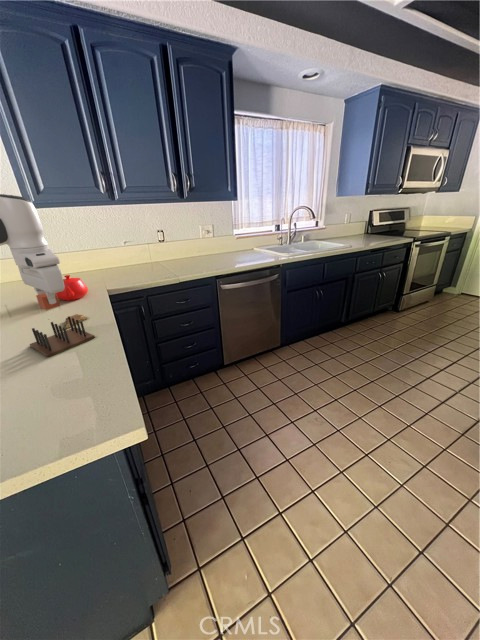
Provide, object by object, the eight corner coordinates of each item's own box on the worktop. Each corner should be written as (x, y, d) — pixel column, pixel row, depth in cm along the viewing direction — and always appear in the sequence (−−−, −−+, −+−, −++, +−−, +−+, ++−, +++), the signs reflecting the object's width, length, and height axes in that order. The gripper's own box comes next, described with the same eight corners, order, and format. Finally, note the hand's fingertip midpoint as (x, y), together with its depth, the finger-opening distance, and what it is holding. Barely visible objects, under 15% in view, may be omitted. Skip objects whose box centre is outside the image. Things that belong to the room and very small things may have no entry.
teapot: (59, 293, 151) (52, 272, 146) (89, 289, 157) (84, 269, 152) (53, 307, 131) (45, 283, 126) (88, 302, 137) (82, 279, 132)
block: (46, 310, 80) (41, 297, 78) (40, 307, 82) (35, 295, 80) (60, 306, 83) (56, 293, 81) (54, 303, 85) (50, 291, 83)
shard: (66, 329, 107) (64, 325, 106) (52, 327, 110) (51, 323, 109) (88, 319, 116) (87, 315, 116) (75, 317, 119) (73, 313, 118)
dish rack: (48, 357, 88) (41, 338, 85) (30, 346, 95) (23, 329, 92) (94, 337, 100) (89, 321, 97) (75, 329, 107) (70, 313, 104)
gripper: (6, 255, 79) (23, 299, 85) (35, 262, 68) (52, 311, 74) (30, 252, 84) (45, 293, 89) (61, 258, 73) (75, 304, 79)
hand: (48, 301), depth 82 cm, fingers closed on block, 4 cm apart
